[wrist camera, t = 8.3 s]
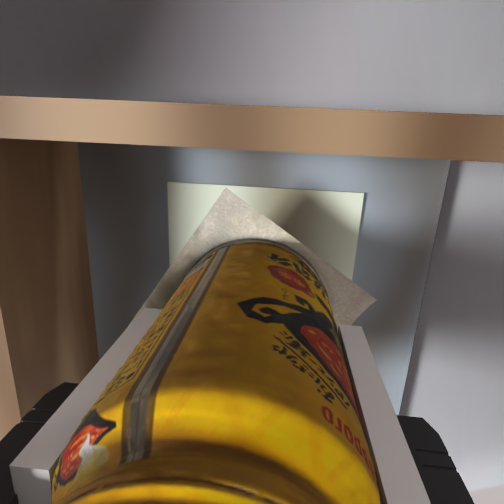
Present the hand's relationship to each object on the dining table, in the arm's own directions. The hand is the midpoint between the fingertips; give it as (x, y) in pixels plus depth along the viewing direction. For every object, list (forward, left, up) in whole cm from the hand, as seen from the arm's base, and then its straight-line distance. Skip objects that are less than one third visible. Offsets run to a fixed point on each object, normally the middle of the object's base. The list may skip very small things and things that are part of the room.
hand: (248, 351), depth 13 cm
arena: (-1, 0, -7) cm, 7 cm away
